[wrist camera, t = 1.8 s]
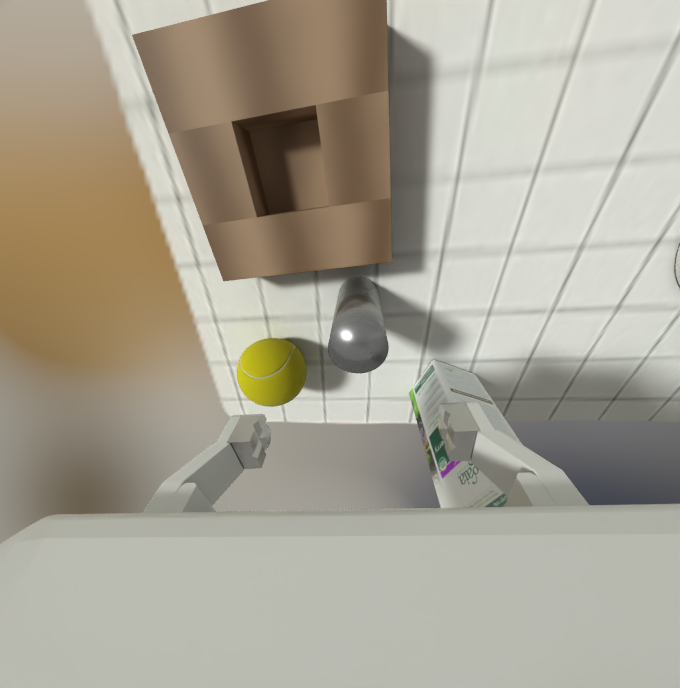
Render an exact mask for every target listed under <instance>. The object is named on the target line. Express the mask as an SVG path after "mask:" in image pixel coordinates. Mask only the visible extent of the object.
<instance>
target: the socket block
mask: <svg viewBox="0 0 680 688" xmlns="http://www.w3.org/2000/svg"><path fill="white" fill-rule="evenodd" d="M132 36H133V39H134V42H135V44H136V47H137V50H138V52H139V55H140V58H141V60H142V63H143V66H144V68H145V71H146V74H147V77H148V79H149V82H150V85H151V87H152V90H153V93H154V95H155V98H156V101H157V103H158V106H159V109H160V112H161V114H162V117H163V120H164V122H165V125H166V128H167V130H168V133H169V136H170V138H171V141H172V144H173V146H174V149H175V152H176V155H177V157H178V160H179V163H180V165H181V168H182V171H183V173H184V176H185V179H186V181H187V184H188V187H189V190H190V192H191V195H192V198H193V200H194V203H195V206H196V208H197V211H198V214H199V216H200V219H201V222H202V225H203V227H204V230H205V233H206V235H207V238H208V241H209V243H210V246H211V249H212V251H213V254H214V257H215V259H216V262H217V265H218V268H219V270H220V273H221V276H222V278H223V281H229V280H238V279H247V278H255V277H264V276H273V275H281V274H290V273H299V272H308V271H316V270H325V269H334V268H342V267H351V266H360V265H368V264H377V263H386V262H392V232H391V185H390V138H389V91H388V44H387V0H268V1H264V2H260V3H256V4H252V5H248V6H244V7H241V8H237V9H233V10H229V11H225V12H221V13H217V14H213V15H209V16H205V17H201V18H197V19H193V20H189V21H185V22H182V23H178V24H174V25H170V26H166V27H162V28H158V29H154V30H150V31H146V32H142V33H138V34H134V35H132Z"/></svg>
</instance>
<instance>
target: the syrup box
mask: <svg viewBox="0 0 680 688" xmlns="http://www.w3.org/2000/svg"><path fill="white" fill-rule="evenodd" d="M409 395H410V398H411V402H412V405H413V409H414V412H415V416H416V420H417V423H418V427H419V431H420V434H421V438H422V442H423V445H424V449H425V452H426V456H427V460H428V463H429V467H430V470H431V474H432V477H433V482H434V485H435V489H436V492H437V495H438V499H439V503H440V507H441V508H472V507H505V505H506V502H507V499H508V497H507V496H506V495H505V494H504V493H503V492H502V491H501V490H500V489H499V488H498V487H497V486H496V485H495V484H494V483H493V482H491V481H490V480H489V479H488V478H487V477H486V476H485V475H484V474H483V473H482V472H481V471H480V470H479V469H478V468H477V467H476V466H475V465H474V464H472V463H471V461H450V460H449V458H448V455H447V452H446V450H445V441H444V440H443V439H441V436H440V433H439V429H438V417H439V416H440V415H441V414H440V411H439V405H440V403H455V402H469V401H477V402H478V403H479V405H480V406H481V408H482V410H483V411H484V413H485V414H486V416H487V418H488V419H489V421H490V423H491V424H492V426H493V427H494V429H495V430H499V431H501V432H502V433H504V434H506V435H507V436H509V437H510V438H512V439H513V440H515V441H517V442H518V443H520V444H521V445H522V443H521V442H520V440H519V439H518V438H517V436H516V434H515V433H514V432H513V430H512V428H511V427H510V426H509V424H508V423H507V421H506V420H505V418H504V417H503V415H502V414H501V412H500V411H499V409H498V408H497V406H496V405H495V403H494V402H493V400H492V399H491V397H490V396H489V394H488V393H487V391H486V390H485V388H484V387H483V385H482V384H481V382H480V381H479V379H478V378H477V376H476V375H475V374H473V373H470V372H468V371H465V370H462V369H460V368H457V367H454V366H451V365H448V364H446V363H443V362H440V361H437V360H434V359H433V360H432V361H431V363H430V365H429V366H428V367H427V369H426V370H425V371H424V373H423V374H422V375H421V377H420V378H419V380H418V381H417V383H416V384H415V385H414V387H413V388H412V390H411V391H410V392H409Z"/></svg>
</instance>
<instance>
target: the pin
mask: <svg viewBox="0 0 680 688" xmlns="http://www.w3.org/2000/svg"><path fill="white" fill-rule="evenodd" d="M328 352H329V355H330V358H331V359H332V361H333V362H334V363H335V364H336V365H337V366H338V367H339V368H341V369H343V370H345V371H347V372H351V373H366V372H369V371H372V370H374V369H376V368H378V367H379V366H380V365H381V364H382V363H383V362H384V360H385V359H386V357H387V354H388V341H387V336H386V331H385V326H384V321H383V315H382V310H381V305H380V300H379V295H378V290H377V288H376V286H375V284H374V283H373V282H372V281H370V280H369V279H367V278H364V277H353V278H350V279H348V280H347V281H345V282H344V283H343V284H342V286H341V288H340V290H339V294H338V299H337V304H336V309H335V314H334V319H333V324H332V329H331V334H330V339H329V344H328Z"/></svg>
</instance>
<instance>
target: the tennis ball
mask: <svg viewBox="0 0 680 688" xmlns="http://www.w3.org/2000/svg"><path fill="white" fill-rule="evenodd" d="M237 379H238V383H239V386H240V388H241V390H242V392H243V393H244V395H245V396H246V397H247V398H248V399H250V400H251V401H253V402H255V403H256V404H259V405H262V406H279V405H283V404H285V403H288V402H289V401H291V400H292V399H294V398H295V397H296V396H297V395H298V394H299V392H300V391H301V389H302V387H303V385H304V382H305V379H306V364H305V360H304V357H303V355H302V353H301V352H300V350H299V349H298V348H297V347H296V346H295V345H293V344H292V343H291V342H289V341H286V340H283V339H278V338H269V339H264V340H260V341H258V342H256V343H254V344H252V345H251V346H249V347H248V348H247V349H246V350H245V351H244V352H243V353H242V355H241V357H240V360H239V363H238V367H237Z"/></svg>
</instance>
